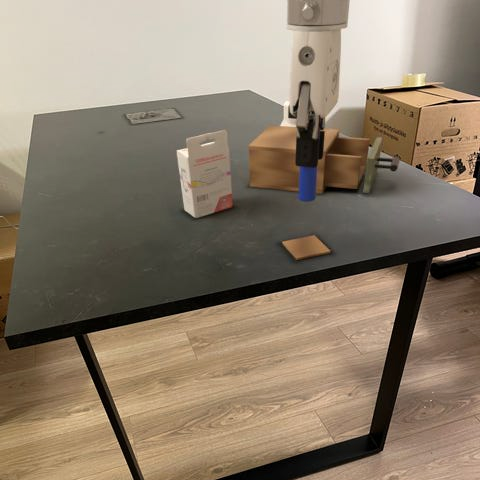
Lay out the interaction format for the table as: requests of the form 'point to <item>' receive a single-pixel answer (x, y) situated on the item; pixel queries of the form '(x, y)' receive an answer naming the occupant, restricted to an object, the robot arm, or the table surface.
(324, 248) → the coaster
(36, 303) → the table surface
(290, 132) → the cabinet
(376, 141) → the drawer
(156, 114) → the mousepad
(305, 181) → the marker
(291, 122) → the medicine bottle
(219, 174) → the ink cartridge box
